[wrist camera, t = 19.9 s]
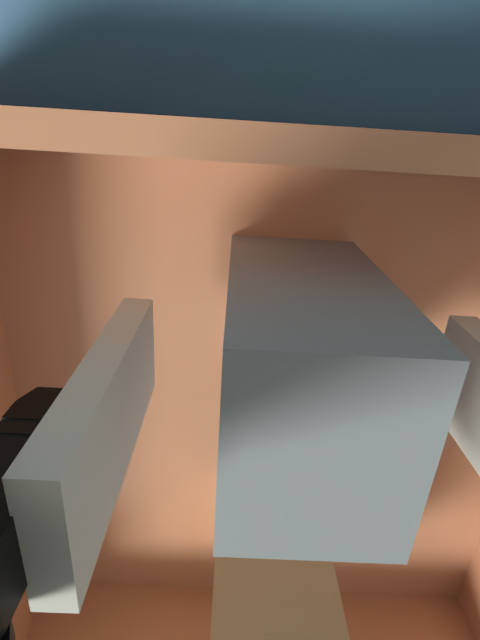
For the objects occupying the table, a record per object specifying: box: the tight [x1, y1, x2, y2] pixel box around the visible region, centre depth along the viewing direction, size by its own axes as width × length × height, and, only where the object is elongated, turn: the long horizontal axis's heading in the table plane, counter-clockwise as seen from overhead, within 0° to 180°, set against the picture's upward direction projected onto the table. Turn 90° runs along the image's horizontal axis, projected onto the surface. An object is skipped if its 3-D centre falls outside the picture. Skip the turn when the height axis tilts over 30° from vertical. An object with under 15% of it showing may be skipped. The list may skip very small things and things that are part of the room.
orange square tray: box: [0, 105, 480, 640], centre depth 15 cm, size 22×22×5 cm
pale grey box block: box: [213, 235, 470, 565], centre depth 12 cm, size 5×4×8 cm
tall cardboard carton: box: [210, 557, 350, 640], centre depth 16 cm, size 5×4×8 cm
